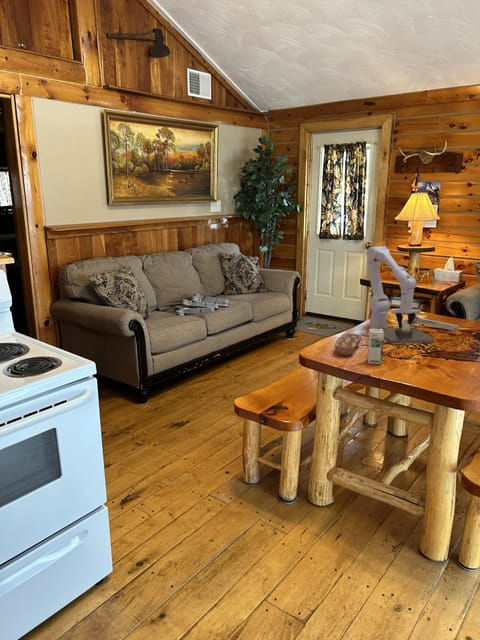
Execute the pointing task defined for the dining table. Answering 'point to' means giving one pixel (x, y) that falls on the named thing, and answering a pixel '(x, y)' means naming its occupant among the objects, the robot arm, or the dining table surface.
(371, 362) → the syrup box
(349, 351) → the brown rounded block
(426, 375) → the dining table surface
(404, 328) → the grey block
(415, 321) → the wrench
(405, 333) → the stand
